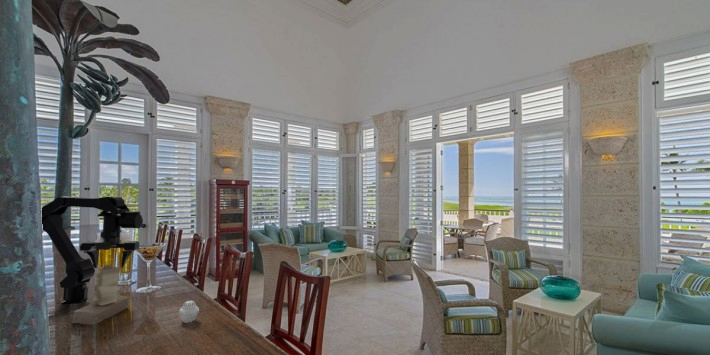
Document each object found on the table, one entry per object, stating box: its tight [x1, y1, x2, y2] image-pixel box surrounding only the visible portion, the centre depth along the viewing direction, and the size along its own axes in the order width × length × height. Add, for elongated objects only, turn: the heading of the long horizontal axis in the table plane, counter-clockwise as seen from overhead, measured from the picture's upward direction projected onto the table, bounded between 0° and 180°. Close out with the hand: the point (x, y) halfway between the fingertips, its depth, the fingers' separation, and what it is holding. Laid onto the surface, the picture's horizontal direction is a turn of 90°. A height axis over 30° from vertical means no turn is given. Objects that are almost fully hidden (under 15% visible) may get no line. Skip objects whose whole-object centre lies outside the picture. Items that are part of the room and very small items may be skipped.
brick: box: [71, 295, 130, 326], centre depth 119 cm, size 17×8×5 cm, turn 0°
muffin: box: [178, 300, 200, 324], centre depth 116 cm, size 6×6×7 cm
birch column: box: [92, 264, 120, 306], centre depth 120 cm, size 5×5×13 cm
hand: (109, 267), depth 133 cm, fingers open, 9 cm apart
